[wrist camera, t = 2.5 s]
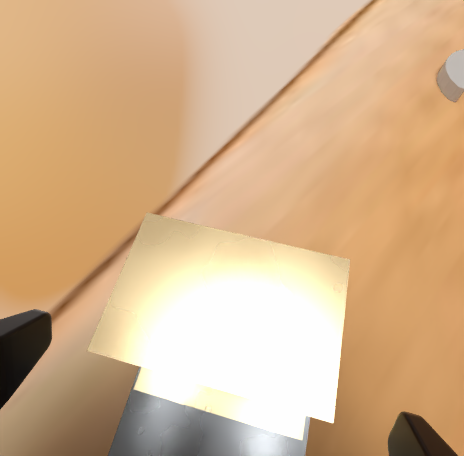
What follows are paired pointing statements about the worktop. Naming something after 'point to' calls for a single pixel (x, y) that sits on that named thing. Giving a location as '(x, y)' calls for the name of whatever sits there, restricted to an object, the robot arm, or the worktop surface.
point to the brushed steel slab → (193, 432)
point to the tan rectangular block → (229, 323)
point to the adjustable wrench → (452, 76)
